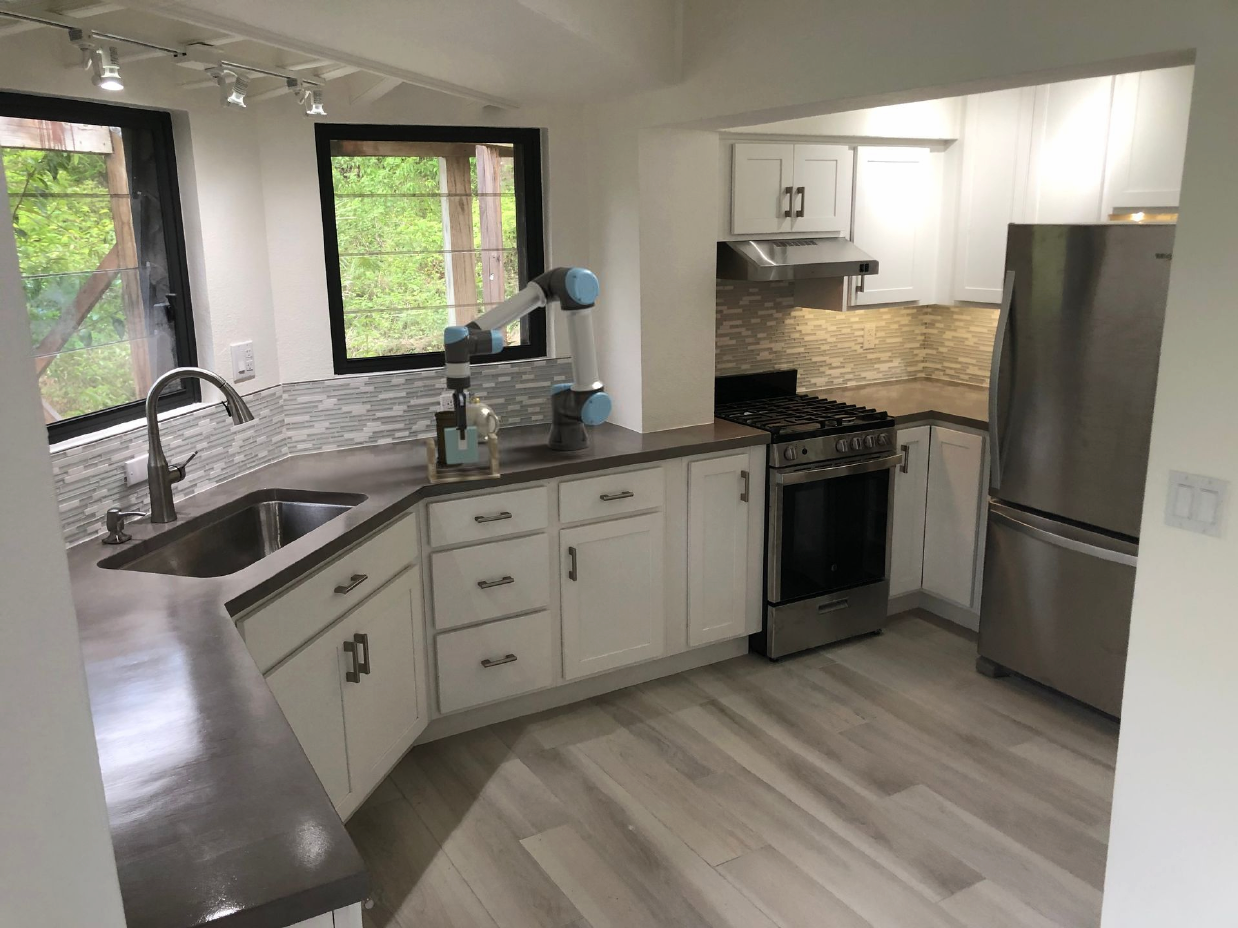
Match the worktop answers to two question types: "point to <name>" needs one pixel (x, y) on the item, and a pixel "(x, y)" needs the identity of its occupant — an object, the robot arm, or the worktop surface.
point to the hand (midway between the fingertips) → (461, 447)
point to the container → (444, 421)
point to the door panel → (461, 455)
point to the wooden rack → (466, 472)
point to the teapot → (481, 419)
